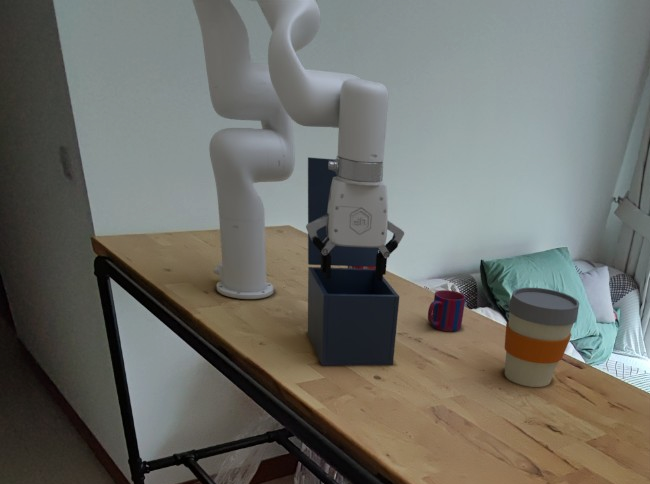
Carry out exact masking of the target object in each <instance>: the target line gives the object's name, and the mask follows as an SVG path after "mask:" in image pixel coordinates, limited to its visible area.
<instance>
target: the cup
mask: <svg viewBox="0 0 650 484" xmlns="http://www.w3.org/2000/svg"><path fill="white" fill-rule="evenodd" d="M466 299H467V298H466V295H465V294H464V293H462V292H459V291H455V290H448V289H442V290H436V291H435V292H434V298H433V301H432V302H431V303H430V305H429V307H428V311H427V321H428V322H429V323H430V325H431V327H432V328H434V329H435V330H438V331H442V332H450V333H452V332H458V331H460V330H461V329H462V322H463V317H464V312H465V304H466Z"/></svg>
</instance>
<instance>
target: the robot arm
mask: <svg viewBox="0 0 650 484" xmlns="http://www.w3.org/2000/svg"><path fill="white" fill-rule="evenodd" d="M191 1H192V4H193V7H194V9H195V13H196V16H197V20H198V23H199V27H200V31H201V37H202V45H203V53H204V61H205V67H206V68H205V69H206V76H207V82H208V90H209V95H210V101H211V104H212V108H213V110H214V111H215V113H216V114H217V115H218V116H219V117H221V118H224V119H226V120H227V119H228V120H234V121H235V120H236V121H255V122H260V124H261V125H260V126H261V128H253V127H227V128H221V129H219V130H217V132H214V134H213V135H212V137H211V138H210V141H209V148H208V149H209V150H208V151H209V157H210V162H211V167H212V171H213V175H214V181H215V188H216V196H217V206H218V218H219V219H218V220H219V221H218V222H219V235H220V251H221V262H219V263H218V264H217V265H216V266H215V267H214V268H213V269H212V271H213V273H214V274H216V275H217V276H218V275H219V281H218V282H217V283H216V291H217V292H218V293H219V294H221V295H223V296H226V297H229V298H231V299H232V298H233V299H238V300H239V299H240V300H258V299H264V298H268V297H270V296H272V295H273V294H274V285H273V284H271V283H270V282H268V281H267V260H266V259H267V258H266V257H267V255H266V253H267V252H266V250H267V249H266V220H265V218H266V217H265V216H266V215H265V214H266V213H265V207H264V203H263V200H262V198H261V197H260V195H259V193H258V191H257V190H256V188H255V185H254V184H257V183H273V182H274V183H275V182H277V183H278V182H284V181H287V180H289V178H290V177H291V176H292V175H293V172H294V170H295V163H296V156H295V155H296V152H295V150H296V149H295V138H294V137H295V136H294V126H293V124H294V123H293V122H295V124H297V125H300V126H302V127H309V128H310V127H311V128H313V127H314V128H333V129H338V135H337V136H338V137H337V155H336V158H335V160H333V161H329V162H328V169H329V170H333V171H335V172H336V174H337V177H333V180H332V184H331V189H330V194H329V201H328V210H327V215H325V216H323V217H321V218H319V219H317V220H315V221H313V222H311V223H309V224H308V223H307V224H306V225H305V229H306V231H307V234H308V233H309V235H310V238H311V240H312V242H313V243H314V245H315V246H316V247H317V248H318V249H319V250H320V252H321V265H320V267H321V272H322V273H324V276H325V278H326V279H329V278H330V277H331V268H332V265H331V255H330V251H331V250H332V249H333V248H334V246H335V245H337V246H346V247H366V248H378V250H379V253H377V255H376V267H375V276H376V278H377V279H378V280H379V281H382V280H383V277H384V276H385V275H386V273H387V263H388V259H389V258H390V255H391V254H392V253H393V252H395V250H396V249H397V248H398V247H399V244H400V243H401V242H402V239H403V238H404V236H405V231H403V229H402V228H400V227H399V226H397V225H396V224H394V223H393V222H391V221H390V220H388V216H389V215H388V213H389V212H388V211H389V210H388V206H389V205H388V189H387V188H388V187H387V183H386V182H384V181H383V177H382V171H383V172H384V156H385V145H386V144H385V143H386V133H387V121H388V111H389V110H388V107H389V91H388V89H387V87H386V85H385V84H383V83H381V82H377V81H374V80H368V79H362V77H359V76H357V75H355V74H352V73H345V72H336V71H328V70H317V69H306V68H305V67H304V66H303V64H302V63H301V60H300V59H299V57H298V55H297V53H296V52H298V51H301V50H302V49H303V48H306V47H307V46H308V45H309V44H310V43H311V42H312V41H313V40H314V39H315V37H316V36H317V34H318V32H319V31H320V30H319V29H320V27H321V22H322V18H321V17H322V16H321V10H320V7H319V4H318V3H317V1H318V0H248V1H250V2H256V3H257V4H258V6H259V8H260V10H261V11H262V12H261V13H262V14H263V16H264V18H265V21H266V22H267V24H268V26H269V28H270V30H271V35H270V38H269V42H268V49H267V63H262V62H261V63H259V62H254V61H253V60H252V56H251V50H250V40H249V39H250V38H249V33H248V29H247V27H246V25H245V22H244V20H243V19H242V16H241V15H240V13H239V12H238V10H237V8H236V7H235V5H234V4H233V3H232V1H231V0H191ZM324 226H326V234H327V237H326V238H325V240H324V241H323V242H322V241H321V240H320V239H319V238H318V236H317V233H316V232H317V230H318V229H320V228H322V227H324ZM388 231H389V232H391V233H392V234H393V235H392V238H391V239H390V240H389V241H388V242H387V239H388V237H387V236H388Z"/></svg>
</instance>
